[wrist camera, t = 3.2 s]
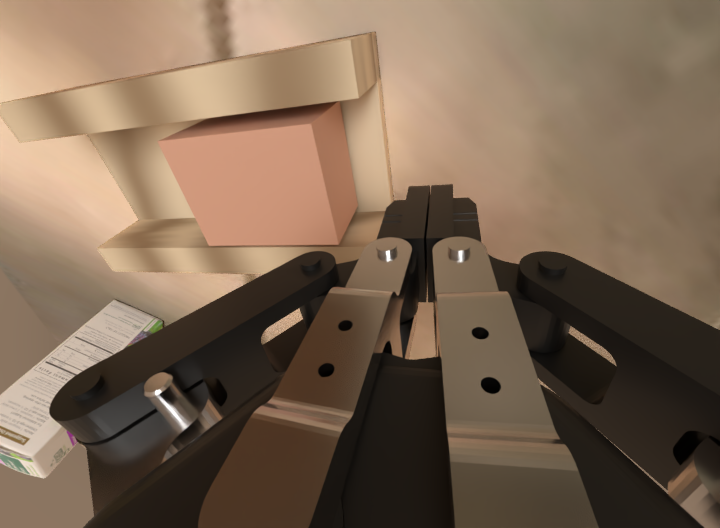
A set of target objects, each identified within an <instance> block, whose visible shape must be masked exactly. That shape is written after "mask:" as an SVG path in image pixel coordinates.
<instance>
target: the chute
mask: <svg viewBox="0 0 720 528" xmlns="http://www.w3.org/2000/svg"><path fill="white" fill-rule="evenodd" d="M335 101H340V106H341V111H342V117H343V123H344V129H345V134H346V140H347V146H348V151H349V157H350V163H351V168H352V174H353V180H354V185H355V191H356V197H357V202H358V207H357V209H356V211H355V213H354V215H353V217H352V219H351V221H350V223H349V225H348V227H347V229H346V231H345V233H344V235H343V237H342V239H341V241H340V243H339V245H239V246H209V245H208V243H207V241H206V239H205V237H204V235H203V233H202V231H201V229H200V227H199V225H198V223H197V221H196V219H195V217H194V215H193V213H192V211H191V209H190V207H189V205H188V203H187V200H186V198H185V196H184V194H183V192H182V190H181V188H180V186H179V184H178V182H177V180H176V178H175V176H174V174H173V172H172V170H171V168H170V166H169V164H168V162H167V160H166V158H165V156H164V154H163V152H162V150H161V148H160V146H159V144H158V142H157V141H159V140H161V139H163V138H166V137H168V136H170V135H172V134H175V133H177V132H179V131H181V130H183V129H186V128H188V127H190V126H192V125H194V124H197V123H199V122H201V121H203V120H205V119H208V118H213V117H220V116H228V115H236V114H243V113H251V112H258V111H266V110H274V109H281V108H289V107H297V106H304V105H312V104H319V103H327V102H335ZM0 117H1V118H2V119H3V121H4V122H5V124H6V125H7V126H8V128H9V129H10V130H11V132H12V133H13V135H14V136H15V137H16V139H17V140H18V141H19V143H22V142H30V141H38V140H45V139H53V138H61V137H68V136H76V135H83V134H87V135H88V137H89V138H90V140H91V142H92V143H93V145H94V147H95V148H96V150H97V151H98V153H99V155H100V156H101V158H102V160H103V161H104V163H105V165H106V166H107V168H108V170H109V171H110V173H111V175H112V176H113V178H114V180H115V181H116V183H117V184H118V186H119V188H120V189H121V191H122V193H123V194H124V196H125V198H126V199H127V201H128V203H129V204H130V206H131V208H132V209H133V211H134V213H135V214H136V216H137V218H138V219H139V220H138V221H136V222H135V223H134V224H132V225H131V226H129V227H128V228H126V229H125V230H123V231H122V232H120V233H119V234H117V235H116V236H114V237H113V238H111V239H110V240H108V241H107V242H105V243H104V244H102V245H101V246H99V247H98V248H97V250H98V251H99V253H100V254H101V255H102V257H103V258H104V259H105V261H106V262H107V264H108V265H109V266H110V268H111V269H112V270H113V271H120V272H175V273H230V274H266V273H268V272H269V271H271V270H273V269H275V268H277V267H279V266H281V265H283V264H284V263H286V262H288V261H290V260H292V259H294V258H296V257H298V256H300V255H302V254H304V253H308V252H313V251H324V252H328V253H330V254H332V255H333V256H334V257H335V260H336V264H339V263H344V262H349V261H354V260H357V259H359V258H360V256H361V254H362V251H363V249H364V248H365V247H366V246H367V245H368V244H369V243H371V242H372V241H375V240H376V239H377V236H378V233H379V230H380V227H381V224H382V220H383V217H384V214H385V211H386V208H387V207H388V206H389V205H390V204H391V203H392V202H393V201H394V199H393V189H392V180H391V171H390V161H389V152H388V143H387V133H386V124H385V115H384V106H383V96H382V87H381V78H380V68H379V59H378V50H377V40H376V32H371V33H366V34H360V35H355V36H349V37H344V38H338V39H333V40H328V41H322V42H317V43H311V44H306V45H301V46H295V47H290V48H284V49H279V50H274V51H268V52H263V53H257V54H252V55H247V56H241V57H236V58H230V59H225V60H220V61H214V62H209V63H203V64H198V65H192V66H187V67H182V68H176V69H171V70H165V71H160V72H155V73H149V74H144V75H138V76H133V77H128V78H122V79H117V80H111V81H106V82H101V83H95V84H90V85H84V86H79V87H74V88H69V89H64V90H60V91H55V92H50V93H45V94H41V95H36V96H31V97H27V98H22V99H17V100H13V101H8V102H3V103H0Z"/></svg>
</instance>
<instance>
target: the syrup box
mask: <svg viewBox="0 0 720 528" xmlns="http://www.w3.org/2000/svg"><path fill="white" fill-rule="evenodd" d="M162 328H163V321H162V320H160V319H158V318H156V317H153V316H151V315H149V314H147V313H144V312H142V311H140V310H138V309H135V308H133V307H131V306H128V305H126V304H124V303H121V302H119V301H117V300H113V301H112V302H110V303H109V304H108V305H107V306H106V307H105V308H103V309H102V310H101V311H100V312H99V313H97V314H96V315H95V316H94V317H92V318H91V319H90V320H89V321H88V322H86V323H85V324H84V325H83V326H82V327H81V328H79V329H78V330H77V331H76V332H75V333H73V334H72V335H71V336H70V337H69V338H67V339H66V340H65V341H64V342H63V343H61V344H60V345H59V346H58V347H57V348H56V349H54V350H53V351H52V352H51V353H50V354H49V355H47V356H46V357H45V358H44V359H42V360H41V361H40V362H39V363H38V364H36V365H35V366H34V367H33V368H32V369H31V370H29V371H28V372H27V373H26V374H24V375H23V376H22V377H21V378H20V379H19V380H17V381H16V382H15V383H14V384H13V385H11V386H10V387H9V388H8V389H7V390H6V391H4V392H3V393H2V394H1V395H0V463H2V464H3V465H5V466H7V467H10V468H12V469H14V470H17V471H19V472H22V473H25V474H29V475H32V476H36V477H41V478H45V477H47V476H48V475H49V474H50V473H51V472H52V471H53V470H54V468H55V467H56V466H57V465H58V464H59V463H60V462H61V460H62V459H63V458H64V457H65V456H66V455H67V454H68V453H69V451H70V450H71V449H72V448H73V447H74V446H75V444H76V443H77V441H76V438H75V436H73V435H72V434H71V433H70V432H69V431H67V430H66V429H65V428H64V427H62V426H61V425H60V424H59V423H57V422H56V421H55V420H54V419H53V418H52V417H51V416H50V413H49V408H50V404H51V402H52V400H53V398H54V397H55V395H56V394H57V392H58V391H59V390H60V389H61V388H62V387H63V386H64V385H65V384H66V383H67V382H68V381H69V380H71V379H72V378H73V377H74V376H76V375H77V374H79V373H80V372H82V371H84V370H85V369H87V368H89V367H91V366H93V365H95V364H97V363H98V362H100V361H102V360H104V359H106V358H108V357H110V356H112V355H113V354H115V353H117V352H119V351H121V350H123V349H125V348H127V347H129V346H130V345H132V344H134V343H136V342H138V341H140V340H142V339H144V338H145V337H147V336H149V335H151V334H153V333H155V332H157V331H159V330H160V329H162Z"/></svg>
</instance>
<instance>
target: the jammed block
mask: <svg viewBox="0 0 720 528" xmlns="http://www.w3.org/2000/svg"><path fill="white" fill-rule="evenodd" d="M157 142H158V144H159V146H160V148H161V150H162V152H163V154H164V156H165V158H166V160H167V162H168V164H169V166H170V168H171V170H172V172H173V174H174V176H175V178H176V180H177V182H178V184H179V186H180V188H181V190H182V192H183V194H184V196H185V198H186V200H187V203H188V205H189V207H190V209H191V211H192V213H193V215H194V217H195V219H196V221H197V223H198V225H199V227H200V229H201V231H202V233H203V235H204V237H205V239H206V241H207V243H208V245H209V246H239V245H339V243H340V241H341V239H342V237H343V235H344V233H345V231H346V229H347V227H348V225H349V223H350V221H351V219H352V217H353V215H354V213H355V211H356V209H357V207H358V202H357V197H356V191H355V185H354V180H353V174H352V168H351V163H350V157H349V151H348V146H347V140H346V134H345V129H344V123H343V117H342V111H341V106H340V101H335V102H327V103H319V104H312V105H304V106H297V107H289V108H281V109H274V110H266V111H258V112H251V113H243V114H236V115H228V116H220V117H213V118H208V119H205V120H203V121H201V122H199V123H197V124H194V125H192V126H190V127H188V128H186V129H183V130H181V131H179V132H177V133H175V134H172V135H170V136H168V137H166V138H163V139H161V140H159V141H157Z"/></svg>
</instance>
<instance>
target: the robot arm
mask: <svg viewBox="0 0 720 528" xmlns="http://www.w3.org/2000/svg"><path fill="white" fill-rule="evenodd" d="M427 284H428V302H433V303H434V334H435V351H436V357H433V358H426V359H418V360H409V354H410V349H411V344H412V340H413V335H414V330H415V325H416V312H417V309H418V302H426V297H427ZM298 308H300V311H301V314H302V317H303V320H301V321H300V322H298V323H297V324H295V325H294V326H292V327H290V328H289V329H287V330H286V331H284V332H283V333H281V334H279V335H278V336H276V337H275V338H273V339H272V340H270V341H269V342H267V343H265V344H263V345H262V344H261V336H262V334H263V332H264V331H265V330H266V329H267V328H268V327H269V326H271V325H272V324H274V323H275V322H277V321H279V320H280V319H282V318H284V317H285V316H287V315H288V314H290V313H292V312H293V311H295V310H297V309H298ZM570 326H572V327H573V328H575V329H576V330H578V331H579V332H581V333H582V334H584V335H585V336H587V337H588V338H590V339H591V340H593V341H594V342H596V343H597V344H599V345H600V346H602V347H603V348H605V349H606V350H607V351H608V352H609V353H610V354H611V355H612V357H613V358H614V360H615V362H616V365H617V366H615V365H614V364H612V363H611V362H609V361H608V360H606V359H605V358H604V357H602V356H601V355H599V354H598V353H596V352H595V351H593V350H592V349H591V348H589V347H588V346H586V345H585V344H583V343H582V342H580V341H579V340H577V339H576V338H575V337H573V336H572V335H570V334H569V333H568V332H569V329H570ZM538 378H539V379H540V380H541V381H542V382H543V383H545V384H546V385H547V386H548V387H549V388H550V389H551V390H553V391H554V392H555V393H556V394H555V393H554V392H552V391H550V390H549V389H547V388H546V387H544V386H542V385H540V383H539V380H538ZM49 413H50V416H51V417H52V418H53V419H54V420H55V421H56V422H57V423H59V424H60V425H61V426H62V427H64V428H65V429H66V430H67V431H69V432H70V433H71V434H72V435H73V436H75V438H76V441H77V442H79V444H81V445H82V446H83V447H84V448H86V450H87V459H88V468H89V476H90V484H91V494H92V503H93V511H94V517H93V518H92V519H91V520H90V521H89V522H88V523H87V524H86V525H85V526H84V527H83V528H720V330H718V329H716V328H714V327H712V326H710V325H708V324H706V323H704V322H702V321H700V320H698V319H696V318H694V317H692V316H690V315H688V314H686V313H684V312H682V311H679V310H677V309H675V308H673V307H671V306H669V305H667V304H665V303H663V302H661V301H659V300H657V299H655V298H653V297H651V296H649V295H647V294H645V293H643V292H641V291H639V290H637V289H635V288H633V287H631V286H629V285H627V284H625V283H623V282H621V281H619V280H617V279H615V278H613V277H611V276H609V275H607V274H605V273H603V272H601V271H599V270H597V269H595V268H593V267H591V266H589V265H587V264H585V263H583V262H580V261H578V260H576V259H574V258H572V257H570V256H568V255H565V254H561V253H557V252H547V251H544V252H535V253H531V254H528V255H526V256H524V257H523V258H522V259H521V261H520V263H519V264H514V263H509V262H504V261H501V260H498V259H495V258H493V257H492V256H490V255H488V253H487V250H486V247H485V246H484V245H483V244H482V243H481V236H480V229H479V222H478V215H477V208H476V204H475V203H474V202H473V201H472V200H471V199H469V198H453V184H450V185H432V186H431V195H430V186H410V187H409V188H408V193H407V197H406V200H397V201H393V202H392V203H391V204H390V205H389V206H388V207H387V208H386V211H385V214H384V217H383V220H382V224H381V227H380V230H379V233H378V236H377V239H376V240H375V241H372V242H371V243H369V244H368V245H367V246H366V247H365V248H364V249H363V251H362V254H361V256H360V258H359V259H357V260H354V261H349V262H344V263H339V264H336V260H335V257H334V256H333V255H332V254H330V253H328V252H324V251H313V252H308V253H304V254H302V255H300V256H298V257H296V258H294V259H292V260H290V261H288V262H286V263H284V264H283V265H281V266H279V267H277V268H275V269H273V270H271V271H269V272H268V273H266V274H264V275H262V276H260V277H258V278H256V279H254V280H253V281H251V282H249V283H247V284H245V285H243V286H241V287H239V288H238V289H236V290H234V291H232V292H230V293H228V294H226V295H224V296H222V297H221V298H219V299H217V300H215V301H213V302H211V303H209V304H207V305H206V306H204V307H202V308H200V309H198V310H196V311H194V312H192V313H191V314H189V315H187V316H185V317H183V318H181V319H179V320H177V321H175V322H174V323H172V324H170V325H168V326H166V327H164V328H162V329H160V330H159V331H157V332H155V333H153V334H151V335H149V336H147V337H145V338H144V339H142V340H140V341H138V342H136V343H134V344H132V345H130V346H129V347H127V348H125V349H123V350H121V351H119V352H117V353H115V354H113V355H112V356H110V357H108V358H106V359H104V360H102V361H100V362H98V363H97V364H95V365H93V366H91V367H89V368H87V369H85V370H84V371H82V372H80V373H79V374H77V375H76V376H74V377H73V378H72V379H71V380H69V381H68V382H67V383H66V384H65V385H64V386H63V387H62V388H61V389H60V390H59V391H58V392H57V394H56V395H55V397H54V398H53V400H52V402H51V404H50V408H49ZM597 429H598V430H599V431H600V432H601V433H602V434H601V433H600V432H599V431H598V430H597ZM605 436H606V437H607V438H608V439H609V440H610V441H611V442H612V443H614V444H615V445H616V446H617V447H618V448H619V449H621V450H622V451H623V452H624V453H625V454H626V455H628V456H629V457H630V458H631V459H632V460H633V461H634V462H636V463H637V464H638V465H639V466H640V467H641V468H643V469H644V470H645V471H646V472H647V473H649V475H651V476H652V477H653V478H654V479H655V480H656V481H657V482H659V483H660V484H661V485H662V486H663V487H664V488H666V489H667V490H668V494H667V493H666V492H665V491H664V490H663V489H662V488H661V487H660V486H658V485H657V484H656V483H655V482H654V481H653V480H652V479H651V478H649V476H647V475H646V474H645V473H644V472H643V471H642V470H641V469H640V468H638V466H637V465H635V464H634V463H633V462H632V461H631V460H630V459H629V458H627V456H625V455H624V454H623V453H622V452H621V451H620V450H619V449H618V448H617V447H616V446H615V445H614V444H612V443H611V442H610V441H609V440H608V439H607V438H606V437H605Z"/></svg>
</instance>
